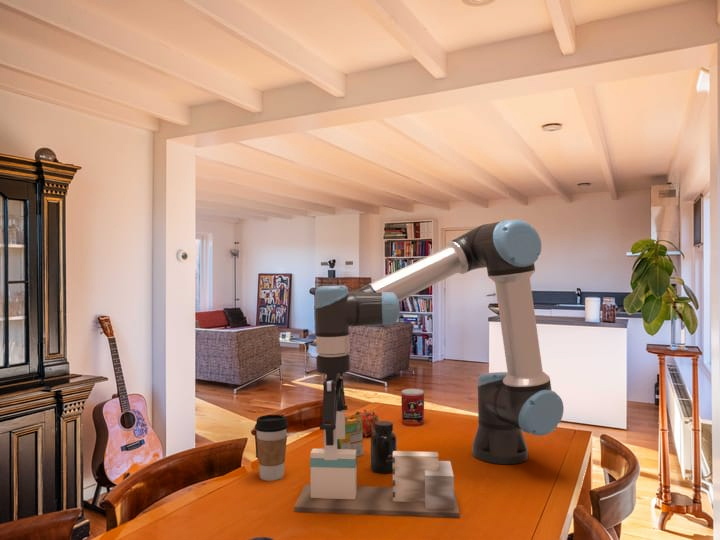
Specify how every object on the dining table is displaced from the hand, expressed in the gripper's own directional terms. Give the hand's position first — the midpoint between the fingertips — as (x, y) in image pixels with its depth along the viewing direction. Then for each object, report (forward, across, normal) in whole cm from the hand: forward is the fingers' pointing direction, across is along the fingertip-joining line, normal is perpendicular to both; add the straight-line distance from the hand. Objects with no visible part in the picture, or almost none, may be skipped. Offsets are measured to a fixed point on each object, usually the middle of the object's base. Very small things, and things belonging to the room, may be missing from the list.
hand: (335, 448), depth 116 cm
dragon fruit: (+12, -48, +2) cm, 49 cm away
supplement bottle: (+12, -20, +10) cm, 25 cm away
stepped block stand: (+12, 0, +9) cm, 15 cm away
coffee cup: (+12, -13, -18) cm, 25 cm away
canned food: (+13, -63, +18) cm, 66 cm away
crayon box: (+12, -29, 0) cm, 31 cm away
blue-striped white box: (+11, 0, -1) cm, 11 cm away
